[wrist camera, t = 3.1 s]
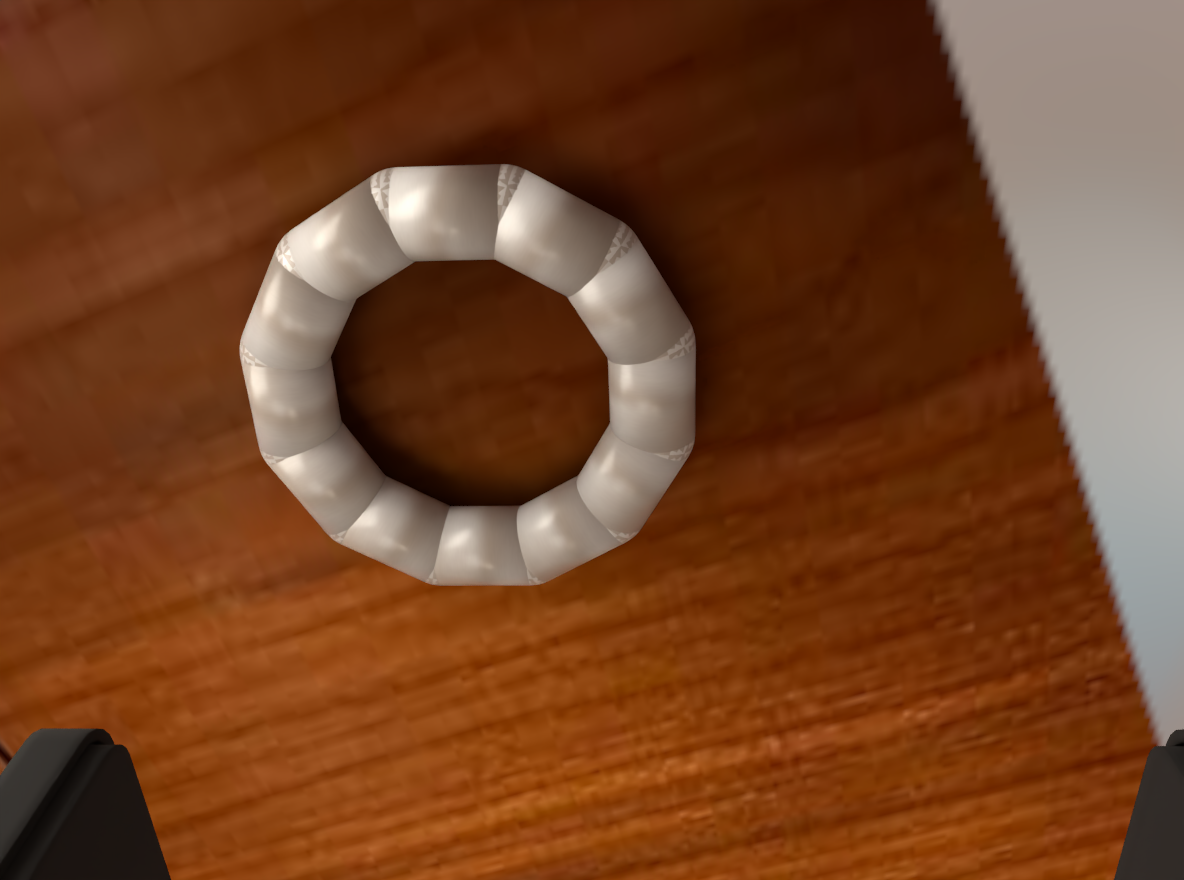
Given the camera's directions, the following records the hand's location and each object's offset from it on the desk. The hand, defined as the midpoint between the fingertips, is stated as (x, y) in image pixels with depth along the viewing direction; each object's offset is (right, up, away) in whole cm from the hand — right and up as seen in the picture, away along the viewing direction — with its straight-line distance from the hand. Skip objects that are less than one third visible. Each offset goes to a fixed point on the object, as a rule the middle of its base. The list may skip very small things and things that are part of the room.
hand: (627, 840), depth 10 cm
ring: (-3, +5, +10) cm, 11 cm away
